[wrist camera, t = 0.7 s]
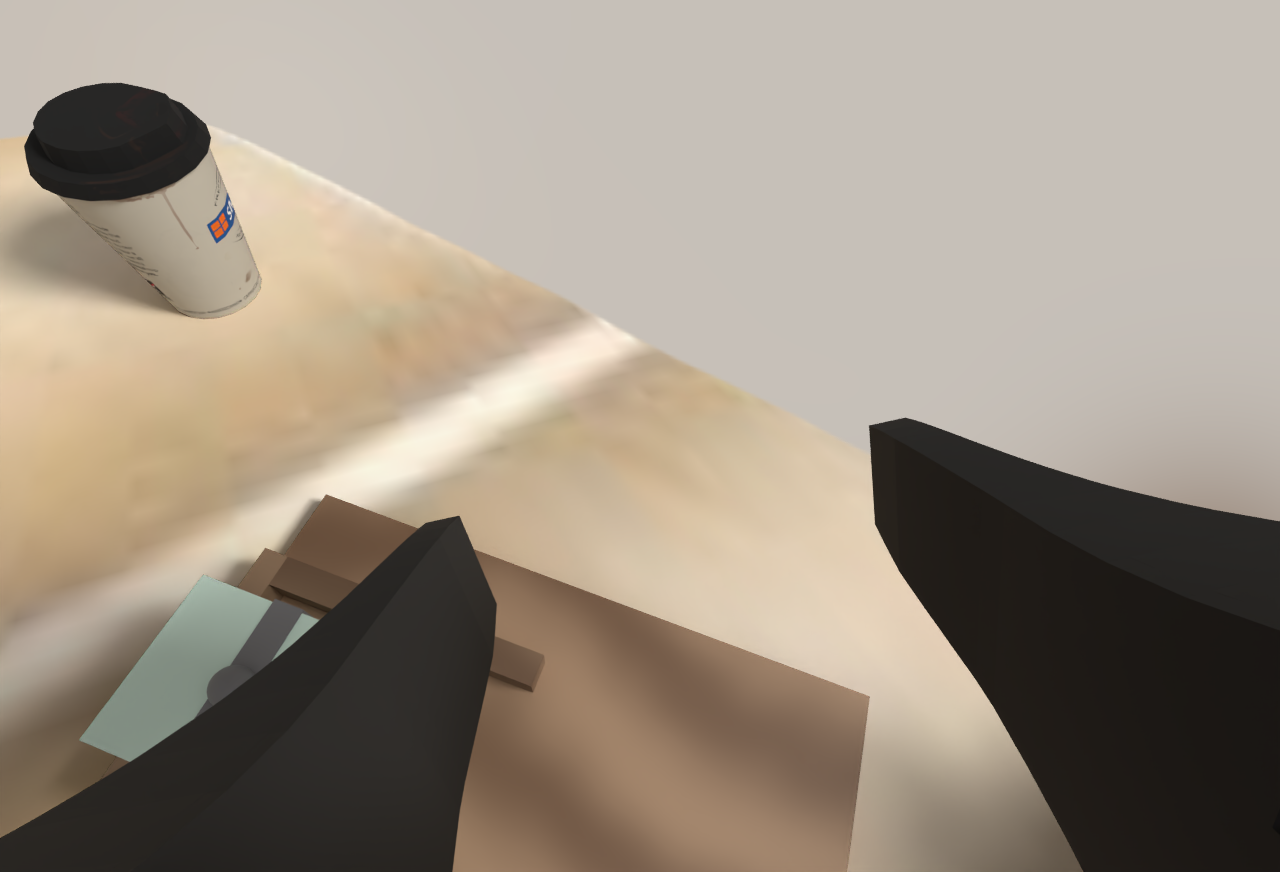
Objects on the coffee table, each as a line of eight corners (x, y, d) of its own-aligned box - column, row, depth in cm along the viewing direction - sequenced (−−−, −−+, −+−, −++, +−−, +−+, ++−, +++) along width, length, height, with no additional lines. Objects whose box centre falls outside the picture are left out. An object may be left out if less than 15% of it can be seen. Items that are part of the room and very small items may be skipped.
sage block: (341, 822, 22) (257, 828, 16) (190, 758, 22) (55, 741, 16) (417, 674, 24) (369, 632, 18) (281, 620, 25) (192, 563, 19)
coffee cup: (144, 348, 32) (-11, 180, 23) (145, 255, 35) (8, 77, 26) (290, 320, 34) (196, 154, 25) (278, 234, 37) (191, 61, 28)
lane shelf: (783, 1252, 18) (812, 1312, 16) (52, 918, 20) (-9, 931, 18) (859, 700, 26) (885, 690, 24) (333, 503, 29) (314, 479, 26)
